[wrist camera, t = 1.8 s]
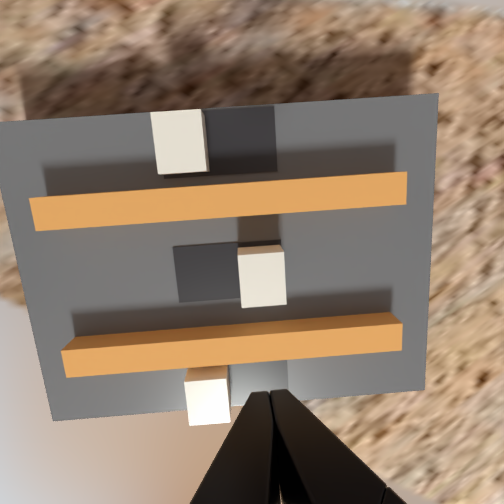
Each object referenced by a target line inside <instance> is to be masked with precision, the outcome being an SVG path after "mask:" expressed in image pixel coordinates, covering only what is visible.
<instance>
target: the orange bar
mask: <svg viewBox="0 0 504 504" xmlns="http://www.w3.org/2000/svg"><path fill="white" fill-rule="evenodd" d="M406 196H407V172H384V173H370V174H356V175H342V176H327V177H313V178H299V179H285V180H271V181H256V182H242V183H228V184H214V185H200V186H185V187H171V188H157V189H143V190H129V191H114V192H100V193H86V194H72V195H57V196H45V197H35V198H29V201H30V206H31V211H32V216H33V221H34V225H35V230H36V231H46V230H60V229H74V228H87V227H101V226H115V225H129V224H143V223H156V222H170V221H184V220H198V219H212V218H225V217H239V216H253V215H267V214H281V213H294V212H308V211H322V210H336V209H349V208H363V207H377V206H391V205H405V204H406Z"/></svg>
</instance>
